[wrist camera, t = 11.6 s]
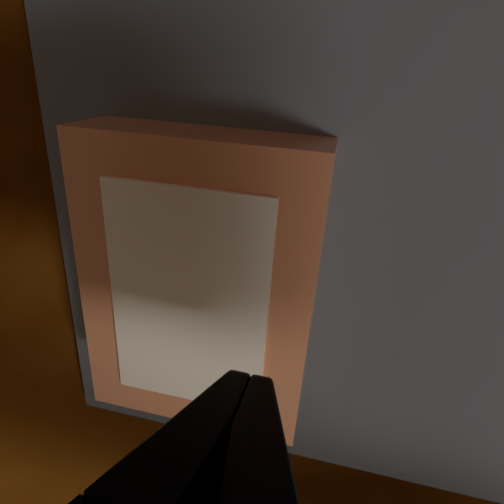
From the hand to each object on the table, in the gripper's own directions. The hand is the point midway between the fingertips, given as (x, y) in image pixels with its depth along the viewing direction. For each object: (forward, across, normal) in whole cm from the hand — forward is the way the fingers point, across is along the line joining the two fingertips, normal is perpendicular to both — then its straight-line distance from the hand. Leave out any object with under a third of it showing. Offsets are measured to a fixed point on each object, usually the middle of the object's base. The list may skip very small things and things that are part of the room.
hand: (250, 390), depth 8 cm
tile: (+3, -1, 0) cm, 3 cm away
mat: (+4, -1, -1) cm, 5 cm away
